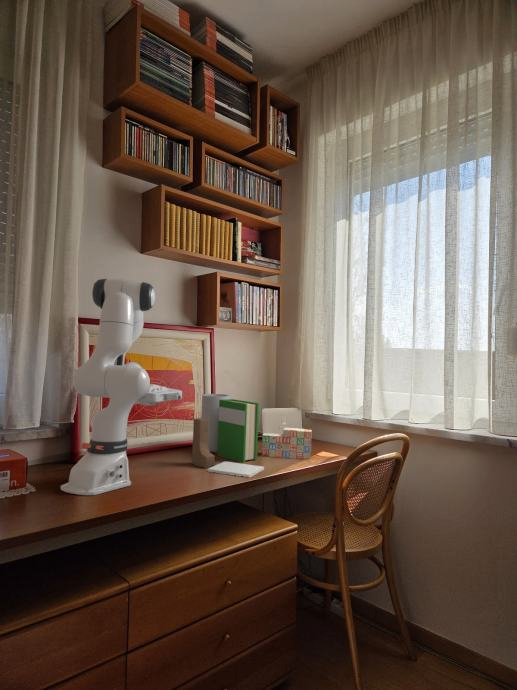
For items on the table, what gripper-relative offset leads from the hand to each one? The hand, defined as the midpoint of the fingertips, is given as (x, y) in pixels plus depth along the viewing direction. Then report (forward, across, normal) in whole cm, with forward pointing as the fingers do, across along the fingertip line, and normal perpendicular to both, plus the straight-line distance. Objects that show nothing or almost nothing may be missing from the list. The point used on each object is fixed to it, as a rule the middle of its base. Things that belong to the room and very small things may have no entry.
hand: (179, 397), depth 185 cm
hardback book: (+17, +20, +26) cm, 37 cm away
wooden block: (+12, 0, +26) cm, 29 cm away
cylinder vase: (+1, +29, +26) cm, 39 cm away
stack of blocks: (+35, +34, +26) cm, 55 cm away
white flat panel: (+27, 0, +26) cm, 37 cm away
